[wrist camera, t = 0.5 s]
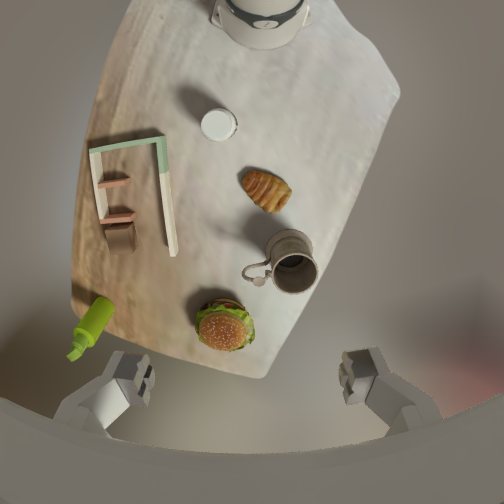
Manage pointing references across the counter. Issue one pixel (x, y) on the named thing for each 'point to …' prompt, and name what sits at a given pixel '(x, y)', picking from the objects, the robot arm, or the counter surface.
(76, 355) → the soap dispenser
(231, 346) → the food
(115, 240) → the block
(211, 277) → the counter surface
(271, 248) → the mug
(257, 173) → the pastry
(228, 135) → the pill bottle
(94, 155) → the box
